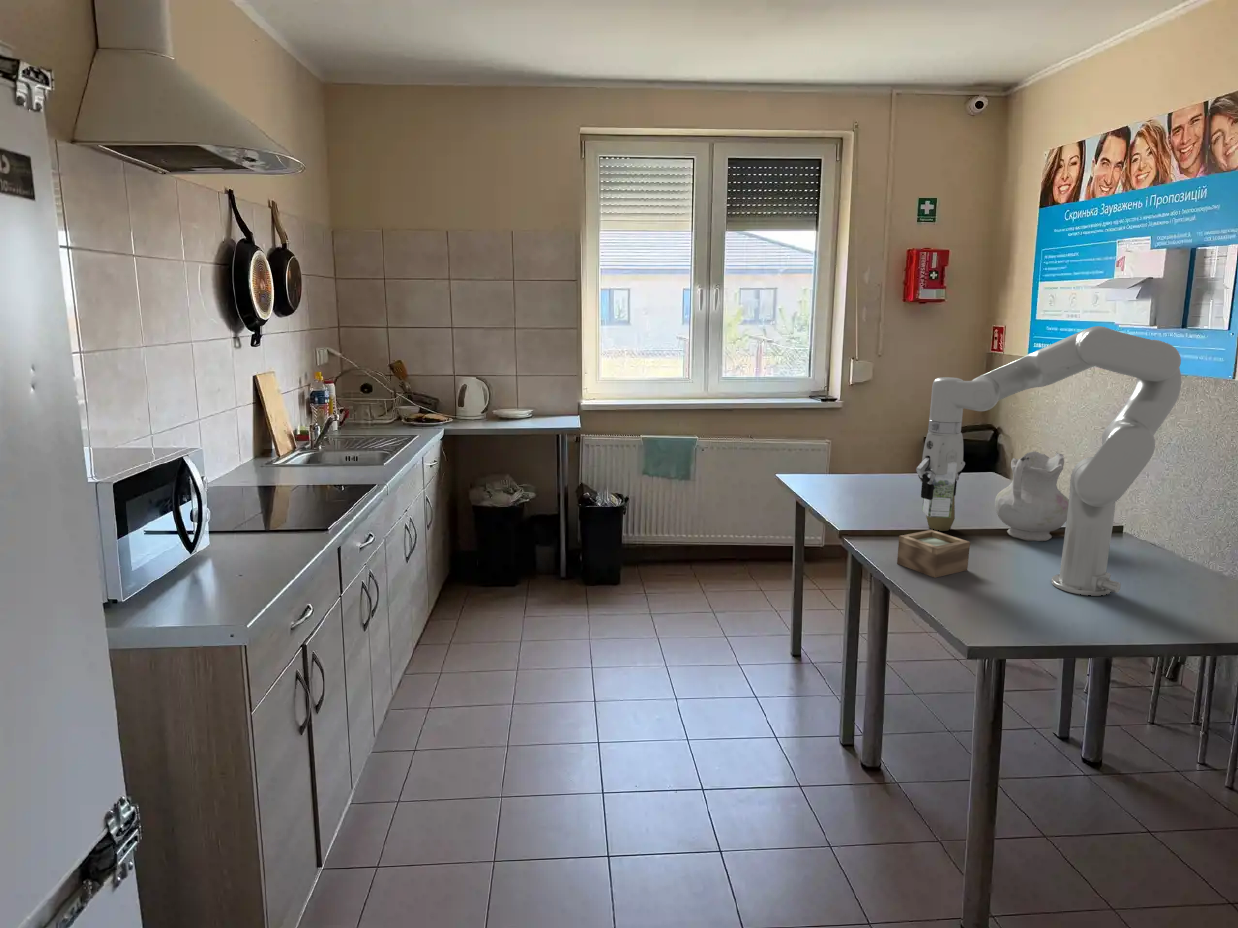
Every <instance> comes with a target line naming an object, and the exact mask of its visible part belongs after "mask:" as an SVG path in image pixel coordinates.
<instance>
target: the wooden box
mask: <svg viewBox="0 0 1238 928" xmlns="http://www.w3.org/2000/svg"><path fill="white" fill-rule="evenodd" d="M970 547H971V541H969V540H965V539H962V538H959V537H956V536H952V535H949V534H947V533H943V532H941V531H938V530H933V529H928V530H923V531H918V532H913V533H912V532H911V533H908V534H907V533H906V534H904V535H903V534H902V535H899V536H898V548H897V558H896V559H897V560H896V564H897V565H900V566H902V567H905V568H908V569H910V570H912V571H916V572H918V573H921V574H924V575H926V576H928V577H931V578H940V577H944V576H948V575H952V574H957V573H961V572H966V571H968V568H969V567H968V566H969V556H970Z"/></svg>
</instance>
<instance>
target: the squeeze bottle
mask: <svg viewBox="0 0 1238 928" xmlns="http://www.w3.org/2000/svg"><path fill="white" fill-rule="evenodd" d="M955 496H956V495H955ZM955 496H953V502H952V510H951V518H937V517H928V516H926V515H925V517H926V518H925V519H926V520H927V525H928V529H930V528H931V529H930V530H933V529H934V531H938V530H939V531H938V532H945V531H946V532H947V531H950V530H951V528H952V526H953V523H954V521H955V519H956V515H955V513H956V511H955V509H956V508H955V507H956V505H955V502H956V501H955ZM949 529H950V530H949Z"/></svg>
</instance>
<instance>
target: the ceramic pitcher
mask: <svg viewBox="0 0 1238 928" xmlns="http://www.w3.org/2000/svg"><path fill="white" fill-rule="evenodd" d="M1010 461H1011V462H1010V468H1011V472H1012V482H1010V484H1009V485H1008V486H1007V487H1004V488H1003V489H1002V490H1000V491H999V492H998V493H997V495H996V496H995V499H994V508H995V512H996V515H997V517H998V518H999V520H1000V521H1001V522H1002V523H1003V524H1004V525H1006V526H1008V527H1010V528H1009V529H1008V530H1006V532H1007V534H1008V535H1009V536H1011V537H1012V538H1016V539H1019V540H1023V541H1038V542H1046V541H1049V540H1050V539H1052V537H1053V535H1052V534H1050V532H1053V531H1056V530H1058V529H1060V528H1061V527H1063V526H1064V524H1066V521H1067V513H1068V505H1069V497H1067V496H1066V495H1065V494H1064V493H1063V492H1061V491H1060V489H1058V486H1057V484H1058V480H1059V477H1060V475H1061V473H1062V472H1063V470H1064V465H1065V456H1064V454H1062V453H1059V452H1056V453H1055V456H1053V457H1049V456H1048V455H1046V454H1045V453H1041V452H1039V451H1035V450H1033V451H1030V452H1027V453H1026V454H1024V455H1023V456H1022V457H1020V458H1019V459H1018V458H1014V457H1012V459H1011V460H1010Z"/></svg>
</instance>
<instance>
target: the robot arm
mask: <svg viewBox="0 0 1238 928" xmlns="http://www.w3.org/2000/svg"><path fill="white" fill-rule="evenodd" d="M1181 363H1182V358H1181V355H1180V352H1179V351H1178V350H1177V348H1176V347H1175V346H1174V345H1172V344H1170V343H1168V342H1165V341H1162V340H1159V339H1151V338H1146V337H1141V336H1137V335H1132V334H1129V333H1125V332H1122V331H1118V330H1116V329H1111V328H1109V327H1105V326H1103V325H1102V326H1101V325H1098V326H1097V325H1096V326H1091V327H1089V328H1085V329H1083V330H1081V331H1079V332H1076V333H1074V334H1072V335H1069V336H1067V337H1065V338H1062V339H1061V340H1058V341H1056V342H1054V343H1052V344H1049V345H1046V346H1044V347H1042V348H1040V349H1037V350H1035V351H1034V352H1030V353H1028V354H1027V355H1024V356H1022V357H1021V358H1019V359H1016V360H1014V361H1011V362H1009V363H1007V364H1005V365H1002V366H1000V367H997V368H996V369H993V370H991V371H989V372H986V373H984V374H981V375H979V376H977V377H975V378H973V379H972V380H963V379H962V378H959V377H952V376H951V377H948V376H945V377H943V376H942V377H936V378H935V379H934V380H933V382H932V387H931V396H930V397H931V398H930V399H931V400H930V409H929V420H928V426H927V429H928V430H927V433H926V438H925V441H924V446H923V451H922V457H921V458H922V459H921V462H920V463H919V464H918V466H916V468H915V470H916V473H917V476H918V479H919V480H920V483H921V491H920V492H921V493H920V497H921V499H923V498H924V499H928V500H932V499H933V490H934V484H932V482H933V480H934V478H935V476H936V475H944V474H947V469H948V464H947V463H949V462H953V461H955V462H956V463H957V467H956V476H955V484H954V493H953V496H956V495H957V493H956V492H957V483H958V481H959V479H960V475H961V474H962V470H963V469H964V468H965V465H966V462H965V461H964V438H963V433H962V432H961V431H962V423H963V414H964V409H966V410H971V411H976V412H985V411H986V412H987V411H989V410H991V409H993V408H994V407H995V406H996V405H997V403H998V402H999V401H1000V400H1003V399H1006V398H1008V397H1009V396H1013V395H1015V394H1017V393H1020V392H1024V391H1025V390H1029V389H1034V388H1043V387H1047V386H1050V385H1053V384H1055V383H1057V382H1060V381H1062V380H1065V379H1067V378H1070V377H1071V376H1075V375H1077V374H1078V373H1082V372H1084V371H1086V370H1089V369H1091V368H1093V367H1096V368H1099V369H1102V370H1105V371H1109V372H1113V373H1117V374H1120V375H1124V376H1129V377H1133V378H1135V379H1136V383H1135V386H1134V389H1133V391H1132V392H1131V394H1130V396H1129V397H1128V399H1127V400H1126V402H1125V403H1124V405H1123V406H1122V407H1121V409H1120V410H1119V411H1118V413H1117V414H1116V415H1115V417H1114V418H1113V419H1112V421H1111V422H1110V423H1109V424H1108V425H1107V426H1106V428H1104V430H1103V433H1102V434H1101V445H1100V447H1099V448H1098V450H1097V451H1096V452H1095V454H1094V455H1093V456H1090V457H1087V458H1086V457H1085V458H1083V459H1081V460H1080V461H1079V462H1077V463H1076V464H1075V466H1074V467H1073V469H1072V471H1071V473H1070V480H1069V493H1068V494H1069V496H1068V499H1069V505H1068V513H1067V521H1066V522H1065V528H1064V529H1065V530H1064V538H1063V546H1062V551H1061V552H1062V554H1061V559H1060V570H1059V573H1058V574H1055V575H1053V576H1051V580H1050V582H1051V584H1052V585H1053V586H1054V587H1055V588H1057V589H1059V590H1062V591H1064V592H1067V593H1070V594H1071V593H1072V594H1075V595H1080V594H1081V595H1082V596H1088V595H1091V596H1090V597H1100V596H1101V595H1103V596H1107V595H1109V594H1111V593H1112V592H1113V593H1116V594H1117V593H1119V592H1120V590H1121V586H1122V585H1121V582H1119V581H1116V580H1112V579H1111V575H1112V574H1111V572H1107V570H1108V569H1107V568H1108V561H1109V553H1110V548H1111V540H1112V532H1113V526H1114V519H1115V511H1116V503H1117V501H1119V500H1120V499H1121V498H1122V496H1124V494H1125V493H1126V492H1127V491H1128V489H1129V488H1130V487H1131V485H1132V484H1133V483H1134V482H1135V480H1136V479H1137V478H1138V477H1139V475H1140V474H1141V472H1142V471H1143V470H1144V469H1145V468H1146V466H1147V465H1148V463H1149V462H1150V461H1151V459H1152V457H1153V455H1154V453H1155V449H1156V438H1155V435H1156V433H1157V432H1158V430H1159V429H1160V427H1161V426H1162V424H1163V423H1164V422H1165V420H1166V418H1168V416H1169V414H1170V413H1171V412H1172V410H1173V408H1174V407H1175V405H1176V404H1177V402H1178V399H1179V396H1180V393H1181V388H1182V374H1181V368H1180V367H1181ZM930 469H931V471H930ZM928 474H930V477H928ZM1110 592H1111V593H1110ZM1106 594H1107V595H1106ZM1081 595H1080V596H1081ZM1101 597H1102V596H1101Z"/></svg>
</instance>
